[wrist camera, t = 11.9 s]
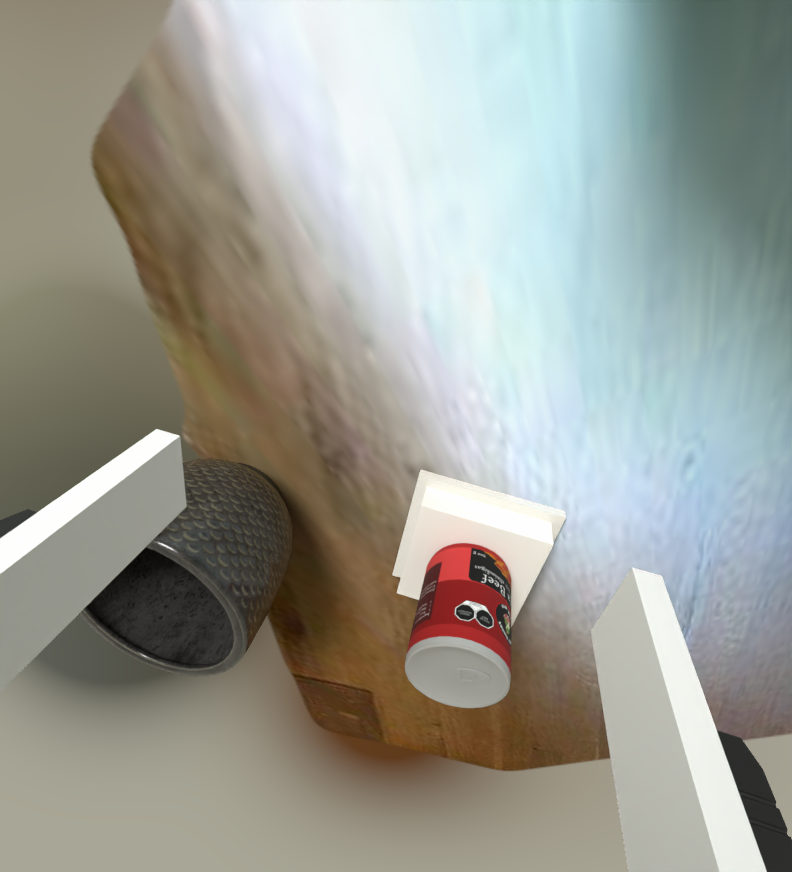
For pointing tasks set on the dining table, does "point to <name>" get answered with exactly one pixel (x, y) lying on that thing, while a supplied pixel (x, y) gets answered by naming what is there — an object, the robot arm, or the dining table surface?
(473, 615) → the canned food
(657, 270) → the dining table surface
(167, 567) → the planter
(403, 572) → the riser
